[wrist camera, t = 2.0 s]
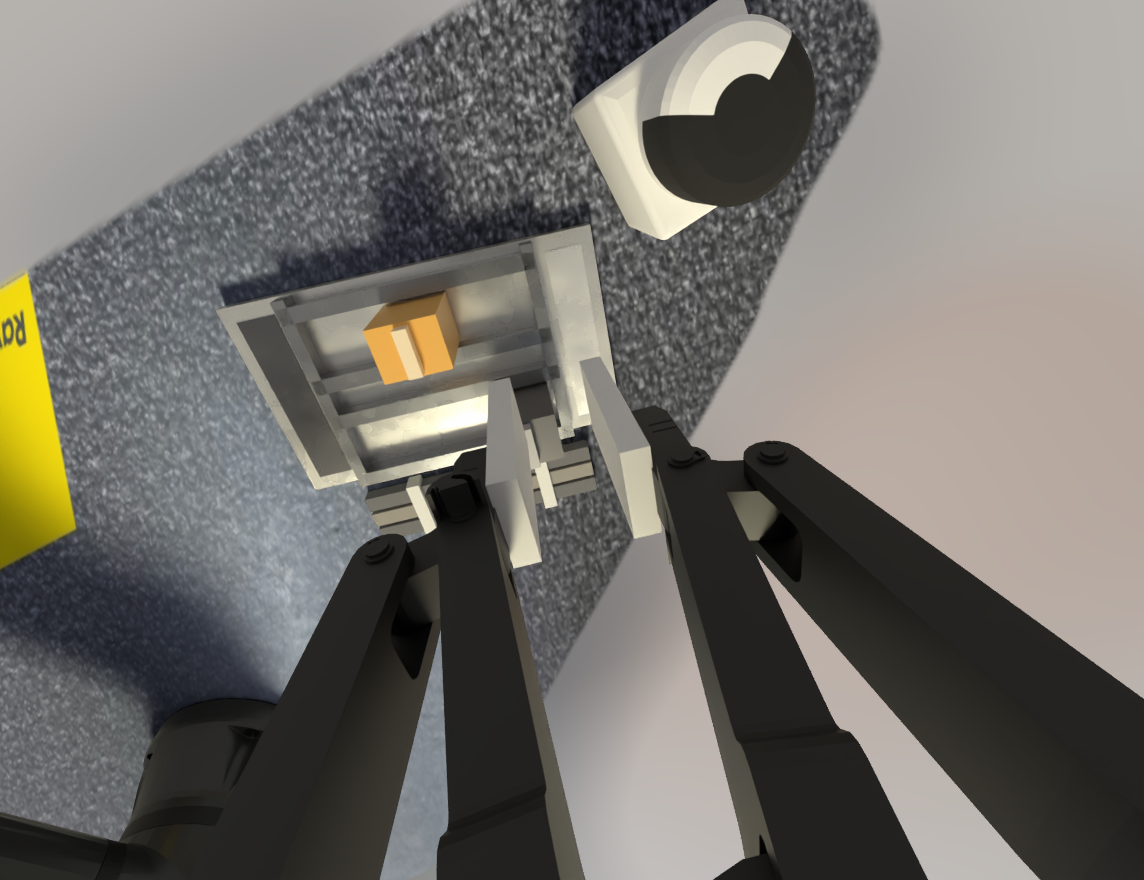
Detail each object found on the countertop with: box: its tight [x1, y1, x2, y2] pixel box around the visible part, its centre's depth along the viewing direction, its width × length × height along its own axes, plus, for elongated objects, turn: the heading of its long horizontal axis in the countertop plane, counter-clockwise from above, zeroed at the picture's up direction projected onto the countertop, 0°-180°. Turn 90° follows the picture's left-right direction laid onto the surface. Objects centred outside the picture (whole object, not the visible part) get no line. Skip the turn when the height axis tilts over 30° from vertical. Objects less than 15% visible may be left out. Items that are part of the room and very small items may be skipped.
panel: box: [216, 223, 616, 490], centre depth 35 cm, size 24×14×3 cm, turn 101°
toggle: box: [513, 381, 565, 470], centre depth 34 cm, size 4×3×7 cm
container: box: [572, 0, 816, 240], centre depth 25 cm, size 8×8×13 cm
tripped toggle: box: [363, 291, 460, 385], centre depth 30 cm, size 4×3×7 cm
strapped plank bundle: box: [365, 440, 597, 536], centre depth 40 cm, size 18×5×2 cm, turn 101°
